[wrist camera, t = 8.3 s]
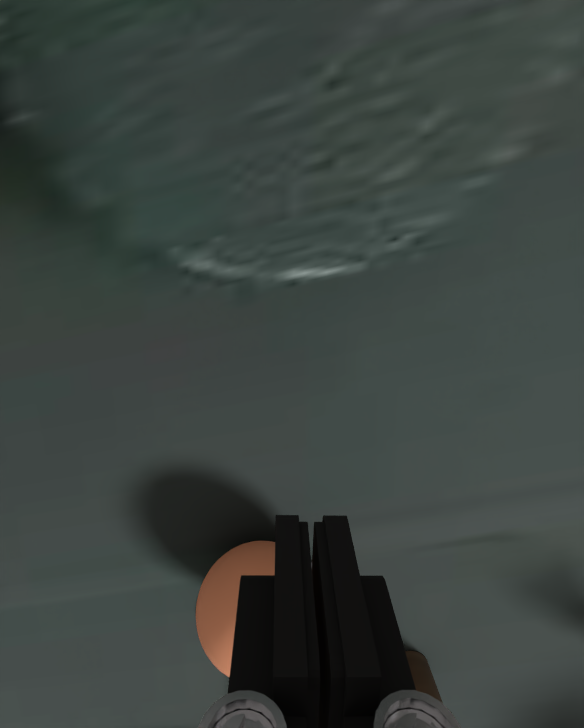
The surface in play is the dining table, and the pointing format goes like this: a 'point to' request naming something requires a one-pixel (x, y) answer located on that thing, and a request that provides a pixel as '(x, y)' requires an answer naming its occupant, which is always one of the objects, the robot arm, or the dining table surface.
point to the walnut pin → (422, 674)
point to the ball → (228, 597)
